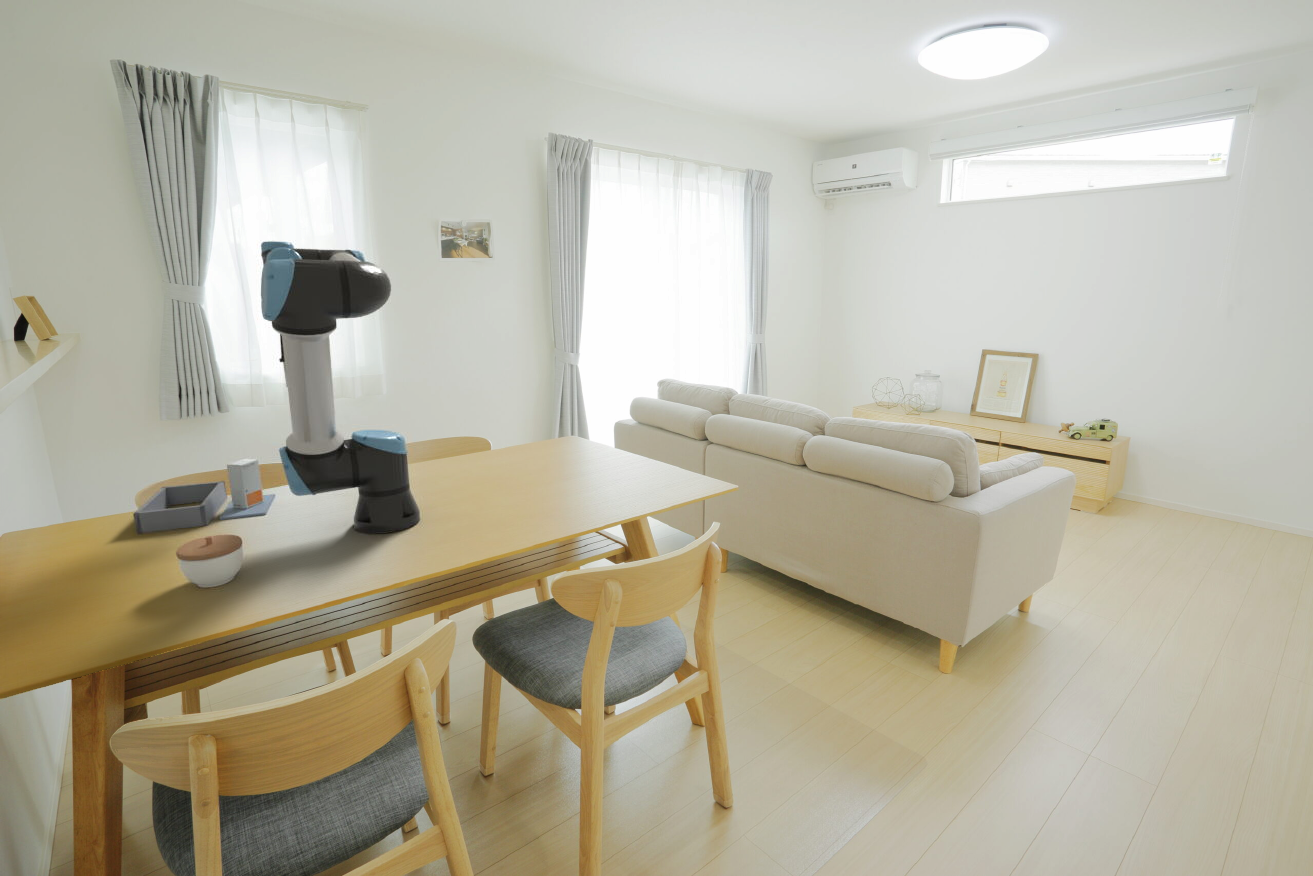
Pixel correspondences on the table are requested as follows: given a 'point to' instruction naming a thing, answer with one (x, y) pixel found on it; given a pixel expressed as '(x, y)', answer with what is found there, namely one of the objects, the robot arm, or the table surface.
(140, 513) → the parts bin
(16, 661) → the table surface
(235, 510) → the board
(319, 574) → the table surface
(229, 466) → the skincare box
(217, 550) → the lidded jar
